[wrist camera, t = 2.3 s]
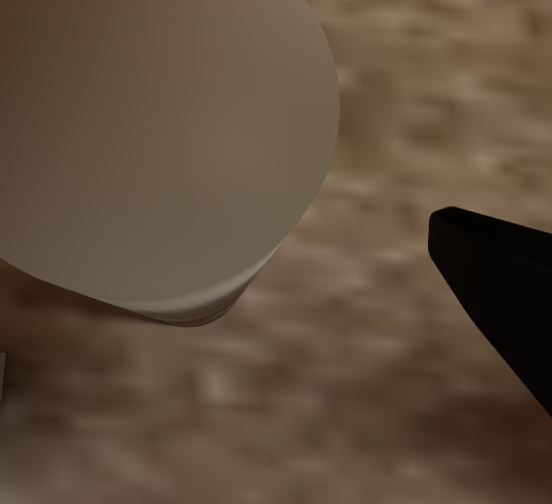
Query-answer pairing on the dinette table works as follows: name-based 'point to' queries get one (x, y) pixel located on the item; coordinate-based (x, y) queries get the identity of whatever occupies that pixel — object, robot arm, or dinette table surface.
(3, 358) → the socket block
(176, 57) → the birch peg
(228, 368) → the dinette table surface
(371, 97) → the dinette table surface
